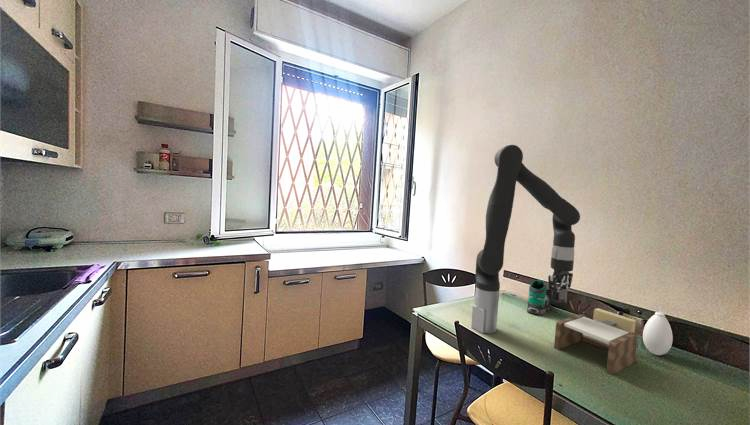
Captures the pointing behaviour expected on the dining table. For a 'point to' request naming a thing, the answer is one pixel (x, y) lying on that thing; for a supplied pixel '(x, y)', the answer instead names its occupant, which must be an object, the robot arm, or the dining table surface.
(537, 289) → the sneaker
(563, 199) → the robot arm
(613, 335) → the trapdoor
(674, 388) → the dining table surface
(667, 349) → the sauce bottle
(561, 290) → the cylinder
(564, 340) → the frame
